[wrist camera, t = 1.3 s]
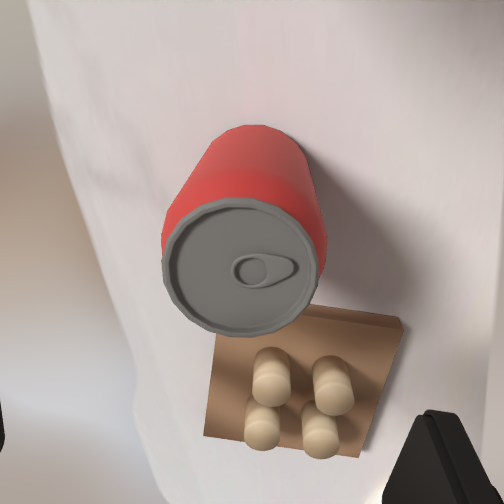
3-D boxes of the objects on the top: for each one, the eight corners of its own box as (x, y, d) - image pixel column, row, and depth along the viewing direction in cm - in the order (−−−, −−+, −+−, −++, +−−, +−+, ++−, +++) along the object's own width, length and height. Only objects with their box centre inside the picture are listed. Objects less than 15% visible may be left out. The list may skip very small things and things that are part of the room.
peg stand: (222, 291, 30) (214, 330, 25) (397, 317, 30) (417, 360, 26) (205, 420, 35) (196, 470, 31) (355, 441, 35) (365, 494, 31)
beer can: (315, 222, 27) (341, 341, 16) (211, 236, 28) (170, 358, 17) (303, 113, 24) (326, 169, 14) (188, 131, 25) (123, 198, 14)
